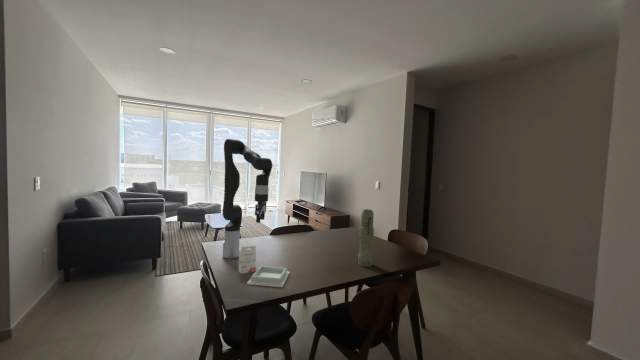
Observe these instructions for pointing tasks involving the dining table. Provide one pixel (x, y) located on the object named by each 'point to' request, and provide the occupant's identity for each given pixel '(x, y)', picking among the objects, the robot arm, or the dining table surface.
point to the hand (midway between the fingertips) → (260, 221)
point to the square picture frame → (269, 276)
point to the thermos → (366, 239)
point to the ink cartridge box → (247, 259)
